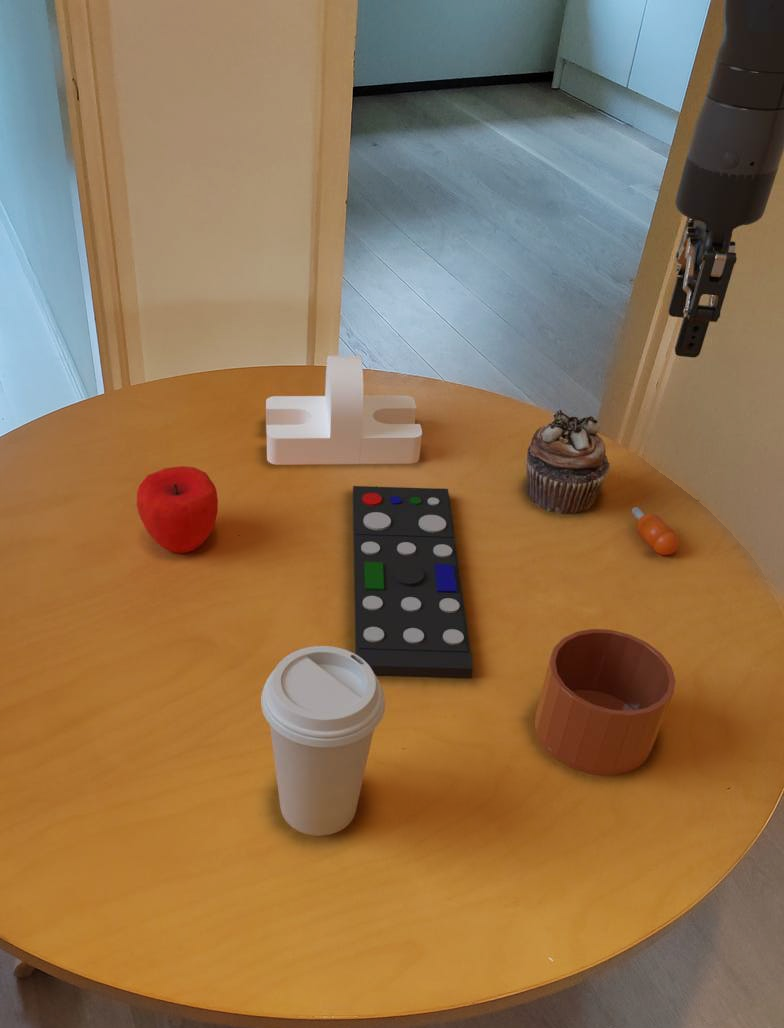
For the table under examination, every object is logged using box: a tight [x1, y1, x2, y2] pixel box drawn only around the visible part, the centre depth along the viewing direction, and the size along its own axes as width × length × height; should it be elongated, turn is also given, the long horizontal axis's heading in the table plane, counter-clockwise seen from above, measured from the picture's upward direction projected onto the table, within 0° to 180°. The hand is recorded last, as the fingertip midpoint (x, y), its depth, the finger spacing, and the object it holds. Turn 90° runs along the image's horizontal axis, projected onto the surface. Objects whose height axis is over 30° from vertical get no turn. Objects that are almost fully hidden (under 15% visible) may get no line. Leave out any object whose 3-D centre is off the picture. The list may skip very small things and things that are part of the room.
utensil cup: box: [534, 628, 676, 777], centre depth 91 cm, size 11×11×8 cm
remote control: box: [352, 485, 474, 680], centre depth 109 cm, size 11×30×2 cm, turn 179°
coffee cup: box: [260, 645, 386, 837], centre depth 82 cm, size 10×10×15 cm
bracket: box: [265, 354, 423, 466], centre depth 126 cm, size 19×10×11 cm, turn 93°
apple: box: [136, 465, 219, 554], centre depth 111 cm, size 9×9×8 cm
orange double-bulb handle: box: [631, 506, 680, 556], centre depth 115 cm, size 8×3×3 cm, turn 18°
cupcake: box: [525, 409, 611, 515], centre depth 119 cm, size 10×10×10 cm
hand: (682, 334), depth 98 cm, fingers open, 8 cm apart
